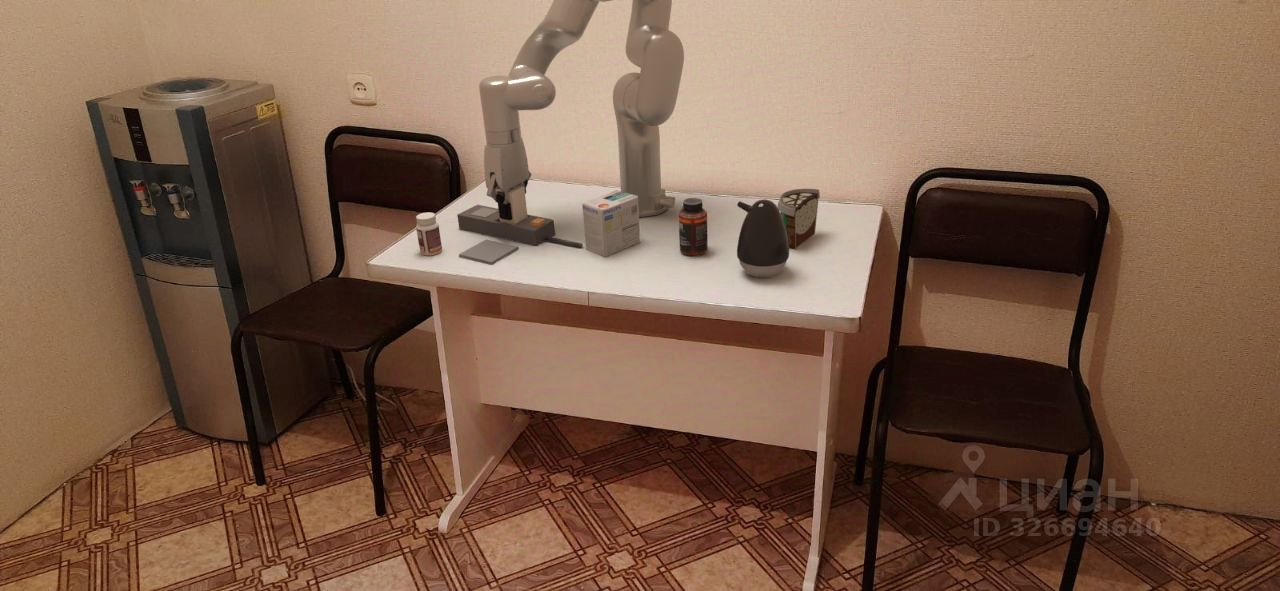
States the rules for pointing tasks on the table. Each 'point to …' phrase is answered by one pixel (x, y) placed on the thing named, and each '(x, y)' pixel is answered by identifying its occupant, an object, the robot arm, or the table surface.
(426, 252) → the pill bottle
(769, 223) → the pump dispenser
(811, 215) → the food container
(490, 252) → the grey mat
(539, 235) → the power strip
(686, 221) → the supplement bottle
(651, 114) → the robot arm
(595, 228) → the light bulb box
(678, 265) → the table surface
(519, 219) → the block
